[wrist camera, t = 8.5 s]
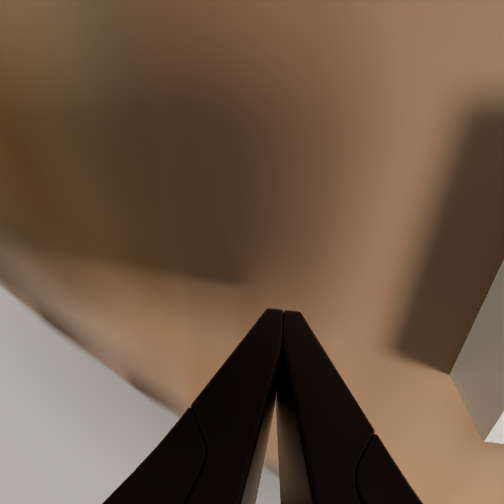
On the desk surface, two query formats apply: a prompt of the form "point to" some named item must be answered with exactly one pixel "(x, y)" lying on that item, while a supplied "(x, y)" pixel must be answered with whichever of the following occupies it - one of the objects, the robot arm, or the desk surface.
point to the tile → (485, 365)
